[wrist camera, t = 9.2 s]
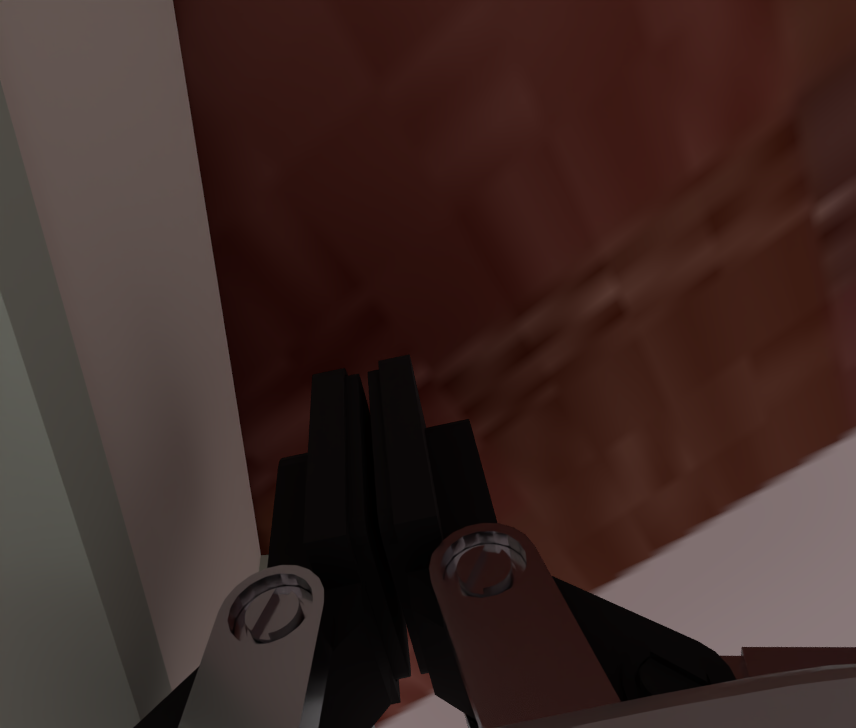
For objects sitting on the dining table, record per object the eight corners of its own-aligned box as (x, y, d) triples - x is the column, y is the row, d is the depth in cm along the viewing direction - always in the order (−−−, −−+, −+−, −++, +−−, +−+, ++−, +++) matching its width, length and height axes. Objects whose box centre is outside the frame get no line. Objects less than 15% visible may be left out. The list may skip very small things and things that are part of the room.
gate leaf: (-11, -394, 10) (-1234, -1541, 2) (126, -387, 10) (-567, -1439, 2) (208, 602, 20) (125, 1027, 12) (275, 597, 20) (235, 1013, 12)
